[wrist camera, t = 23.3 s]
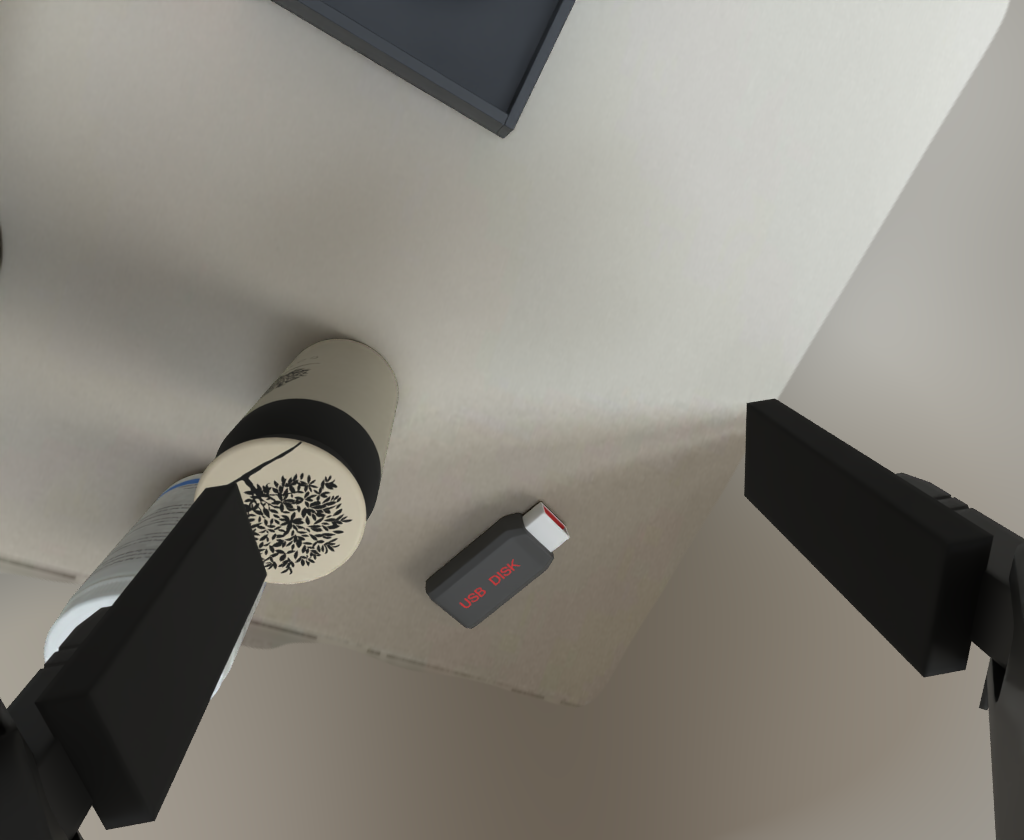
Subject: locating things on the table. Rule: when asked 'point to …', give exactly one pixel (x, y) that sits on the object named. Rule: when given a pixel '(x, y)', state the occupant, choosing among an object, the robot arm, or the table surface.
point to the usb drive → (497, 565)
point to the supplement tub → (132, 566)
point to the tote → (451, 46)
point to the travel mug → (311, 458)
